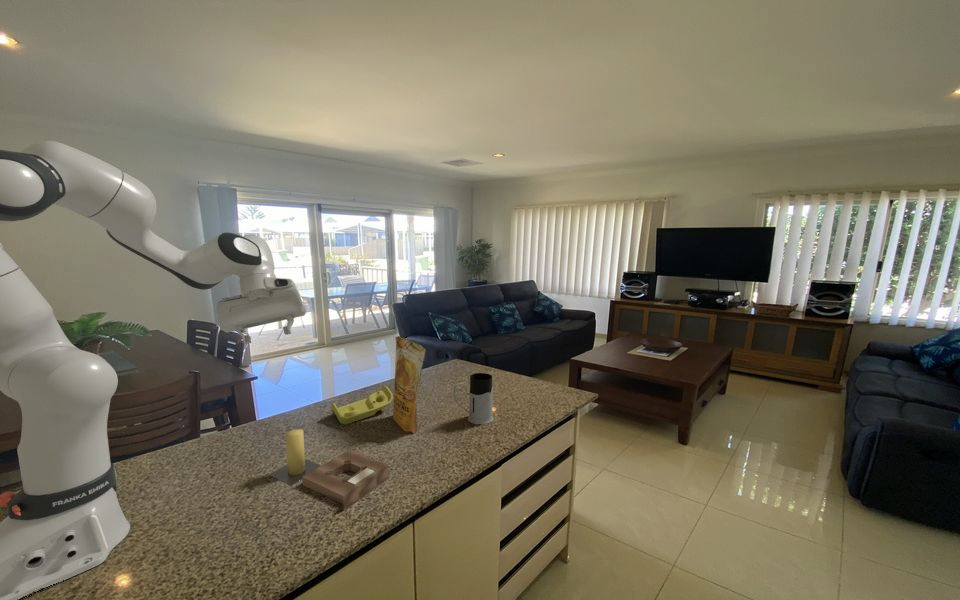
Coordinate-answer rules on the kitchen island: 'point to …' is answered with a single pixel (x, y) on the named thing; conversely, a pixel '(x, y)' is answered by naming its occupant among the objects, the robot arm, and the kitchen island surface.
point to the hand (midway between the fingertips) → (267, 338)
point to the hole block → (348, 488)
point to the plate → (293, 479)
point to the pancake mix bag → (407, 382)
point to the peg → (295, 452)
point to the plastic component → (363, 407)
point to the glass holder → (479, 398)
